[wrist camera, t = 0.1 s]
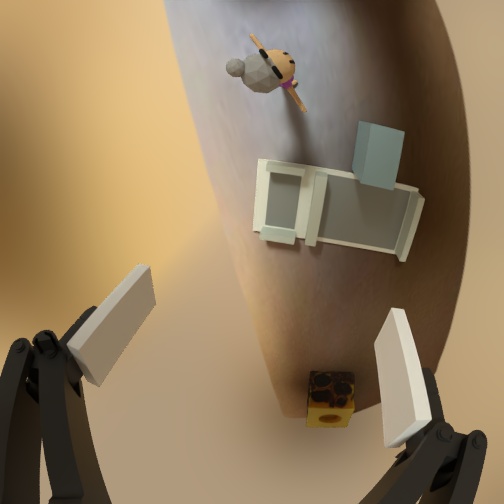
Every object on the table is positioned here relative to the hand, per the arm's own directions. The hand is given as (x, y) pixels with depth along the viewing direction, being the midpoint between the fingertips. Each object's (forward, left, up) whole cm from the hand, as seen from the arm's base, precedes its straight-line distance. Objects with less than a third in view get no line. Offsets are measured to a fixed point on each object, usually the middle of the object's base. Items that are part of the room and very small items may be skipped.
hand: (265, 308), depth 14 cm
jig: (+3, +6, -28) cm, 29 cm away
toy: (-13, -3, -28) cm, 31 cm away
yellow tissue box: (+45, +16, -28) cm, 55 cm away
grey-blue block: (-6, +10, -28) cm, 30 cm away
